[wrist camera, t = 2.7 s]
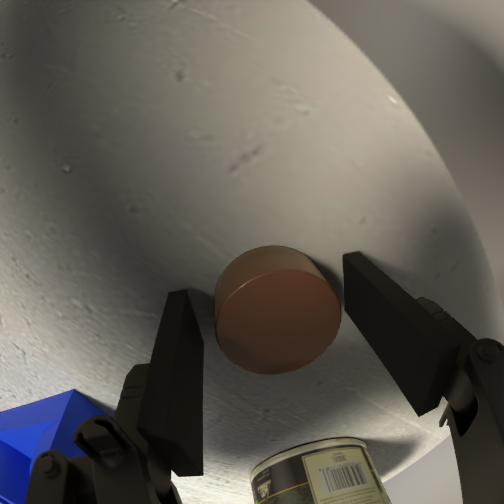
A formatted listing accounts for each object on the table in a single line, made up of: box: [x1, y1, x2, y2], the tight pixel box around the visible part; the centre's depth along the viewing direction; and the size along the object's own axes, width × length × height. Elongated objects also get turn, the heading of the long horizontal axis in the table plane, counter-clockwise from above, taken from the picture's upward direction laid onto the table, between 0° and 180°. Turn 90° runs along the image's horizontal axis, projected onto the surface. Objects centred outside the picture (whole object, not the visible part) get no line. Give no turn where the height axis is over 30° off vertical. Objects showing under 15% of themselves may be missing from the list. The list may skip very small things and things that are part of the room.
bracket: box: [0, 389, 107, 504], centre depth 11 cm, size 20×9×8 cm, turn 124°
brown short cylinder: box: [215, 246, 341, 375], centre depth 11 cm, size 5×5×2 cm
